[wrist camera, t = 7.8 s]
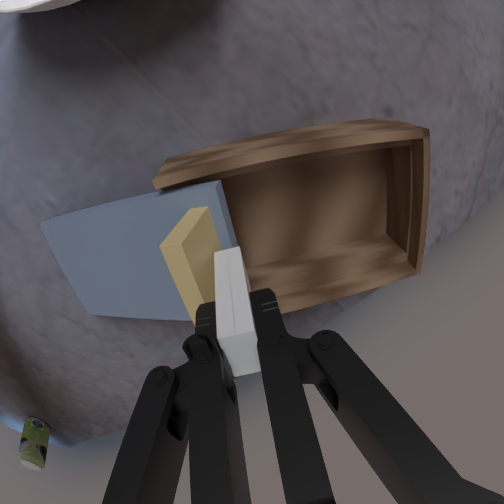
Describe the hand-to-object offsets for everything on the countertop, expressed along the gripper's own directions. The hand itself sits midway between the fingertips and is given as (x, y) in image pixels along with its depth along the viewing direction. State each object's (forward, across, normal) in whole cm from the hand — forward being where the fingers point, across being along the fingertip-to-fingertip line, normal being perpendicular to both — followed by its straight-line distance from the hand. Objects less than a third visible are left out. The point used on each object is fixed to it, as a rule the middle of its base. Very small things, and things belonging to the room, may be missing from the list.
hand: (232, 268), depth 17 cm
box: (+8, +6, 0) cm, 10 cm away
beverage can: (+8, -50, -32) cm, 60 cm away
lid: (+5, -8, 0) cm, 9 cm away
